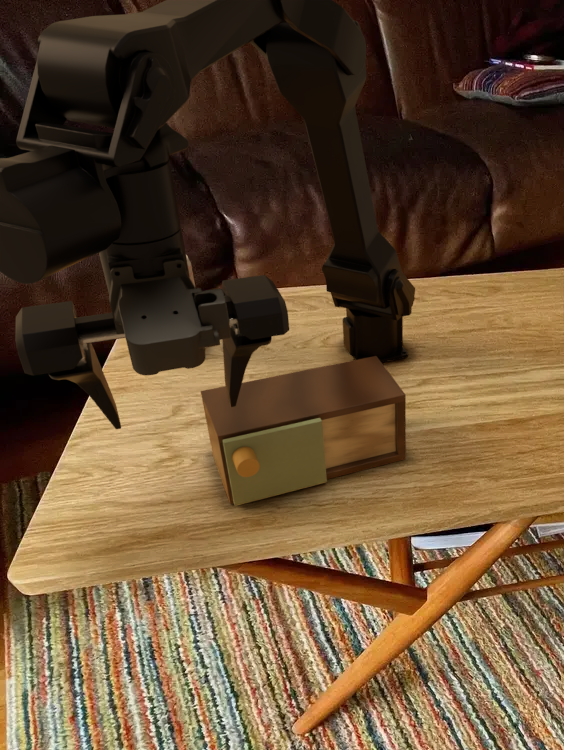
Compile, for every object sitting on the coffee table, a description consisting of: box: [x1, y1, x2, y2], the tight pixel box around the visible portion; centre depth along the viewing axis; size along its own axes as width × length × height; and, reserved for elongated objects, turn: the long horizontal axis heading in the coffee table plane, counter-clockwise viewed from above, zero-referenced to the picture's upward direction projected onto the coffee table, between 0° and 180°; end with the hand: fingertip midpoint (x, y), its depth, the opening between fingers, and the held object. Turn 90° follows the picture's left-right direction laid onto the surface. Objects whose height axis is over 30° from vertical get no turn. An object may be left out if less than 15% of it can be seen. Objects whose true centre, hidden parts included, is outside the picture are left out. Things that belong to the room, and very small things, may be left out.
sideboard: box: [200, 356, 407, 505], centre depth 76 cm, size 18×8×8 cm, turn 115°
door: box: [222, 418, 328, 507], centre depth 70 cm, size 9×3×7 cm, turn 115°
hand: (176, 415), depth 62 cm, fingers open, 9 cm apart
